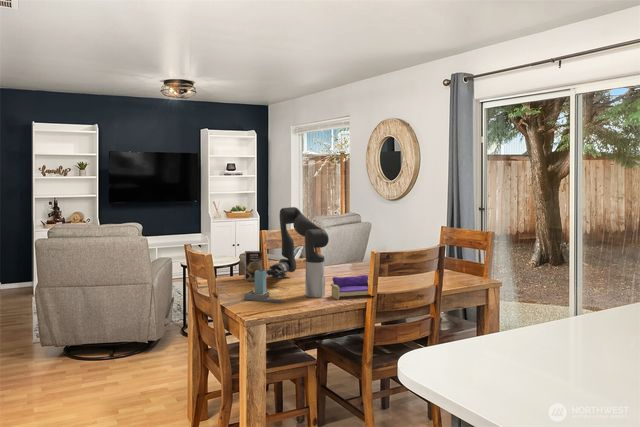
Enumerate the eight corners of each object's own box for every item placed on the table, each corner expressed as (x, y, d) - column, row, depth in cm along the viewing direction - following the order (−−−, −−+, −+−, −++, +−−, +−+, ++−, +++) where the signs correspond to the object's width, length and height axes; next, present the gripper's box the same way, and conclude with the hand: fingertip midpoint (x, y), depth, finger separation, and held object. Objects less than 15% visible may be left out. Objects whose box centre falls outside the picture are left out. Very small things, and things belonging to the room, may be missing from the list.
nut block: (266, 291, 278) (266, 270, 278) (263, 293, 274) (263, 271, 273) (257, 291, 280) (258, 269, 279) (254, 293, 275) (254, 271, 274)
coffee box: (245, 280, 306) (245, 252, 304) (244, 278, 312) (244, 250, 310) (261, 280, 308) (262, 252, 307) (260, 278, 314) (260, 250, 313)
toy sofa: (336, 300, 263) (336, 279, 263) (329, 296, 271) (330, 276, 271) (375, 297, 271) (376, 277, 270) (368, 293, 279) (368, 274, 278)
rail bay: (288, 298, 265) (288, 293, 265) (281, 303, 255) (281, 297, 255) (252, 295, 270) (252, 290, 270) (243, 300, 260) (243, 294, 260)
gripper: (266, 262, 304) (255, 267, 289) (290, 264, 301) (280, 269, 285) (265, 276, 305) (255, 281, 289) (290, 277, 301) (280, 283, 286)
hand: (268, 275), depth 287 cm, fingers open, 8 cm apart
